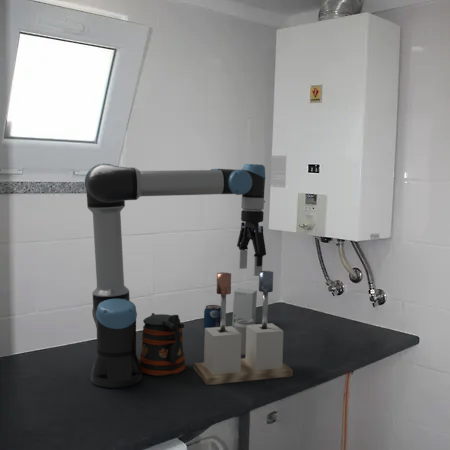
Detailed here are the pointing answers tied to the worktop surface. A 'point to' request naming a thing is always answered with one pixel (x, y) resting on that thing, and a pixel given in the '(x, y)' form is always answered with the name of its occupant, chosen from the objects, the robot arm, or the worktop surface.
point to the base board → (241, 374)
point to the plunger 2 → (265, 292)
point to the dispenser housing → (231, 348)
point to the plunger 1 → (223, 295)
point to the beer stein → (162, 345)
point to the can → (243, 331)
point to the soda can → (212, 316)
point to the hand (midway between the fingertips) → (250, 272)
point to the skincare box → (244, 304)
